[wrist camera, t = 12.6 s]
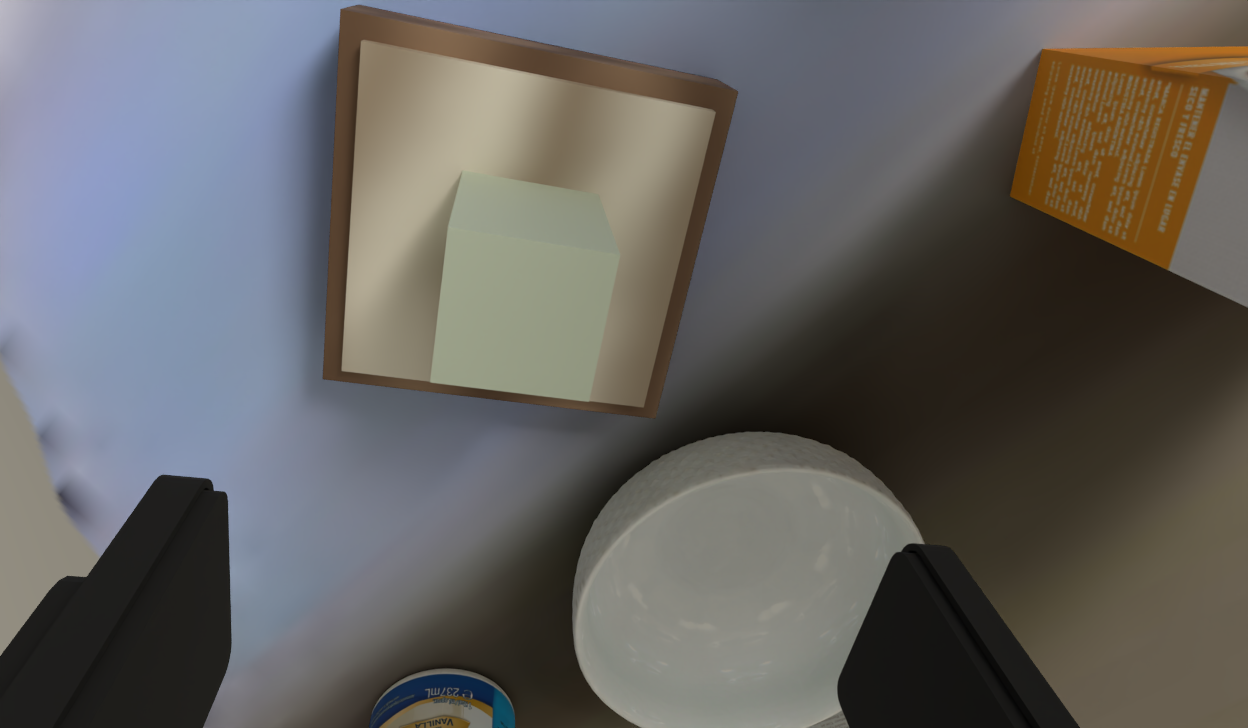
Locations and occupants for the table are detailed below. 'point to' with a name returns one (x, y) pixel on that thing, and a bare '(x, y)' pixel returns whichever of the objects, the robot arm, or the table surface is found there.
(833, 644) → the cereal bowl
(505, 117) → the base
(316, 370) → the table surface
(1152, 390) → the table surface
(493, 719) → the beverage bottle
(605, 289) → the block
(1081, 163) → the cereal box
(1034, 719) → the robot arm
